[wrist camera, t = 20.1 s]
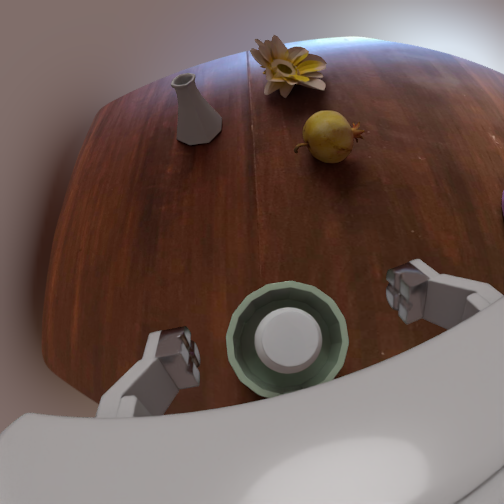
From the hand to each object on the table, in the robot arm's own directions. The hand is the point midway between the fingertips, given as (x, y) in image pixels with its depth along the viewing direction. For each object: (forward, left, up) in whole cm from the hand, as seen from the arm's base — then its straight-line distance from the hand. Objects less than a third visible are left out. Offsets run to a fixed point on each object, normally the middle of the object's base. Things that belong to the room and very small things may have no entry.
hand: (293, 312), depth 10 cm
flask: (+5, +32, -19) cm, 37 cm away
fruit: (+18, +18, -19) cm, 31 cm away
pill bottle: (0, -1, -18) cm, 18 cm away
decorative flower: (+23, +34, -19) cm, 45 cm away
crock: (0, -1, -19) cm, 19 cm away
